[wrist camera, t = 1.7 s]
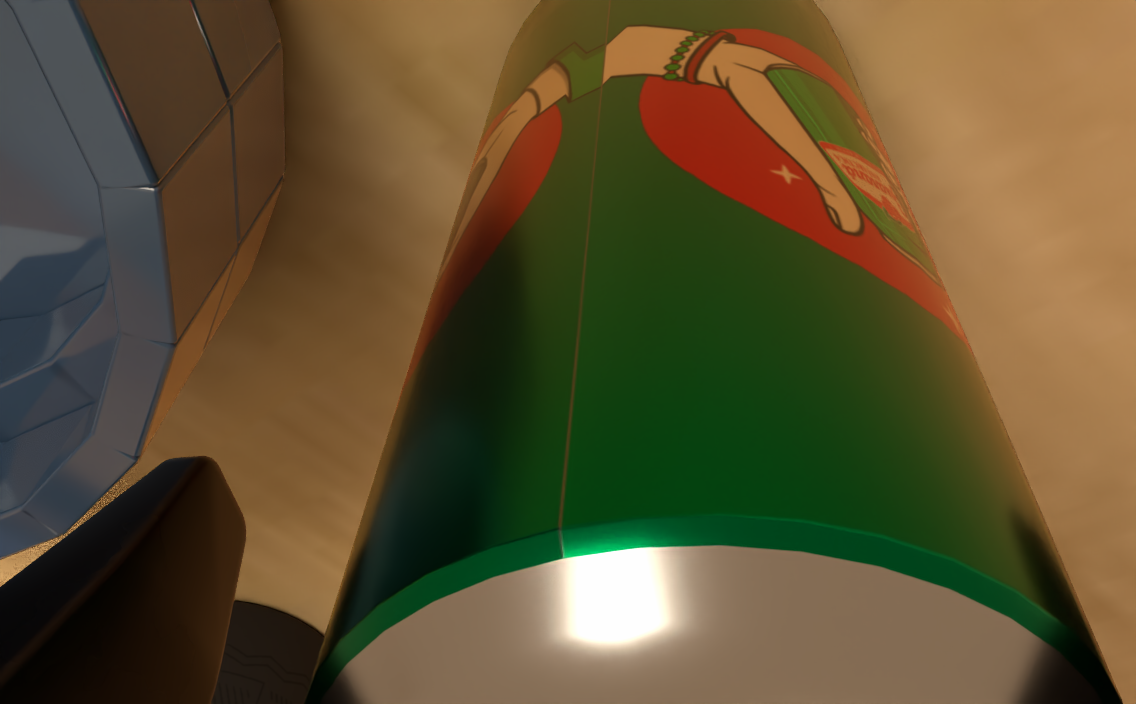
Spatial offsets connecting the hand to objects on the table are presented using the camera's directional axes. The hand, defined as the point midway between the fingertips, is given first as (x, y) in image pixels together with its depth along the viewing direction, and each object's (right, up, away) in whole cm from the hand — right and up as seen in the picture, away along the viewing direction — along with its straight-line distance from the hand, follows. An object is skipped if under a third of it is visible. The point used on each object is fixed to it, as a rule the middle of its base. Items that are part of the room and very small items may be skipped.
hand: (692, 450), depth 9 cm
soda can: (0, +5, +6) cm, 8 cm away
